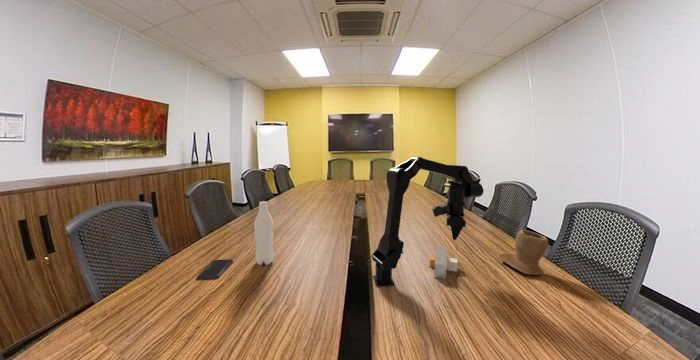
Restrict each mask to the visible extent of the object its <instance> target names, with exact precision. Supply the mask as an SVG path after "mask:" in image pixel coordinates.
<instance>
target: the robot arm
mask: <svg viewBox="0 0 700 360" xmlns="http://www.w3.org/2000/svg"><path fill="white" fill-rule="evenodd" d="M420 170H422V171H426V172H430V173H435V174H439V175H441V176H443V178H446V179H448V181H447V182H445V183H444V184H443V186H444V187H445V188H446V187H447V188H448V198H447V201H446V203H443V204H439V205H436V206H433V207H432V208H431V210H432V214H433V216H434V217H435V218H437V217H439V216H443V215H446V216H447V217H446V226H449V227H450V229H451V230H450V231H451V234H452V240H454V241H456V240H457V239H458V237H459V235H460V233H461V232H462V230H463V228H466V226H467V225H466V224H467V221H466V219H465V204H466V203H465V199H468V198H480V197H482V196H483V194H484V188H483V185H482V184H481V183H480V180H479V179H474V178H473V177H472V175H471V173H470V171H469V167H468V166H465V165H456V164H445V163H441V162H438V161H434V160H430V159H427V158H423V157H421V156H413V157H411V158H409V159H408V160H406V161H404V162H402V163H399V164H398V165H397V166H395V167H391V168H390V169H388V170H387V172H386V187H387V189H388V193H389V195H388V202H387V208H386V209H387V210H386V218H385V226H384V233H383V235H382V236H381V237H380V240H379V242H378V246H377V248H376V249H375V251H374V252H373V253H372V254H371V255H370V256H371V259H372V261H373V262H375V275H372V279H373V281H374V284H375V286H377V287H380V286H383V287H385V286H387V287H388V286H395V285H396V283H395V282H394V279H393V269H396V268H397V265H398V262H399V260H401V257H402V255H403V254H404V250H403V248H404V245H405V243H404V241H403V240H401V239H400V236H399V234H400V225H401V224H400V223H401V218H402V217H401V216H402V210H403V203H404V196H405V193H406V192H407V190H408V188H409V186H410V183H411V180H412V179H413V178H414V177H416V175H418V173H419V172H420Z"/></svg>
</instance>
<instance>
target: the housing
mask: <svg viewBox="0 0 700 360" xmlns="http://www.w3.org/2000/svg"><path fill="white" fill-rule="evenodd" d="M447 256H448V246H445V245H436V253H435V257H436V258H435V268H434V273H433V275H434V279H436V278H437V279H440V280H441V279H442V280H447V270H446V269H447Z"/></svg>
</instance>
